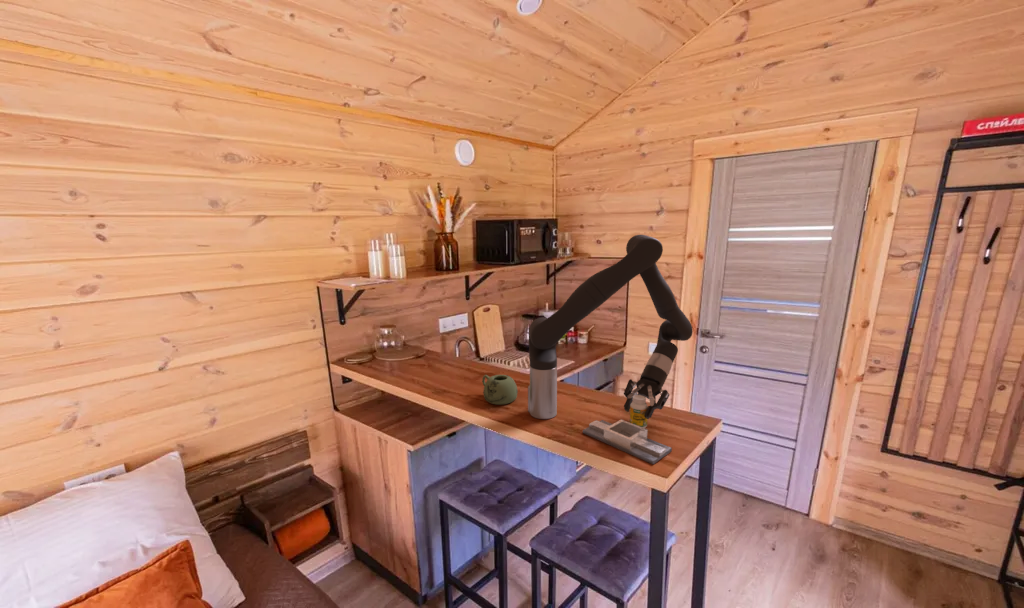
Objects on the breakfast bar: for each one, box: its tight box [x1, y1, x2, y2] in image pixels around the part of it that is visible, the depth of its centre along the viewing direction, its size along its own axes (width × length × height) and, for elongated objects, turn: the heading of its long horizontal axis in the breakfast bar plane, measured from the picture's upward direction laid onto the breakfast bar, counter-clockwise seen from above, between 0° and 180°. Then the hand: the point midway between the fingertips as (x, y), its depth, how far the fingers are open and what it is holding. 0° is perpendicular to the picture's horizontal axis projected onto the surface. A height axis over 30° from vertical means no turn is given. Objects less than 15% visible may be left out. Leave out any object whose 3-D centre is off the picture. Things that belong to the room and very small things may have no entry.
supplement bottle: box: [629, 395, 649, 429], centre depth 133 cm, size 5×5×10 cm
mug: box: [482, 374, 518, 406], centre depth 156 cm, size 16×13×9 cm
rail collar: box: [582, 419, 673, 465], centre depth 123 cm, size 24×10×4 cm, turn 42°
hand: (636, 413), depth 132 cm, fingers open, 6 cm apart
